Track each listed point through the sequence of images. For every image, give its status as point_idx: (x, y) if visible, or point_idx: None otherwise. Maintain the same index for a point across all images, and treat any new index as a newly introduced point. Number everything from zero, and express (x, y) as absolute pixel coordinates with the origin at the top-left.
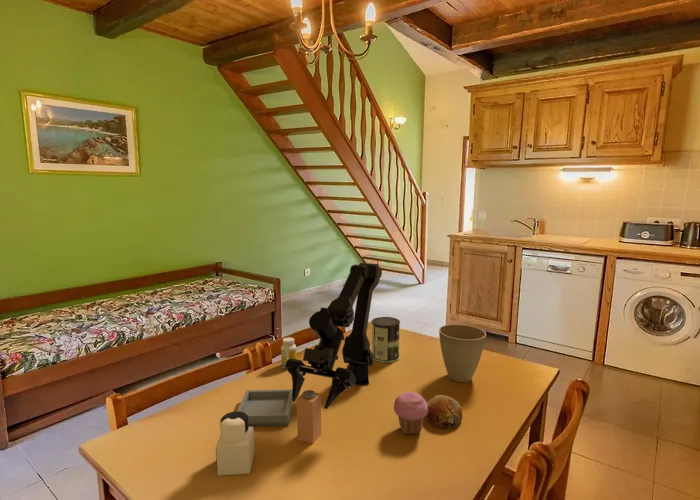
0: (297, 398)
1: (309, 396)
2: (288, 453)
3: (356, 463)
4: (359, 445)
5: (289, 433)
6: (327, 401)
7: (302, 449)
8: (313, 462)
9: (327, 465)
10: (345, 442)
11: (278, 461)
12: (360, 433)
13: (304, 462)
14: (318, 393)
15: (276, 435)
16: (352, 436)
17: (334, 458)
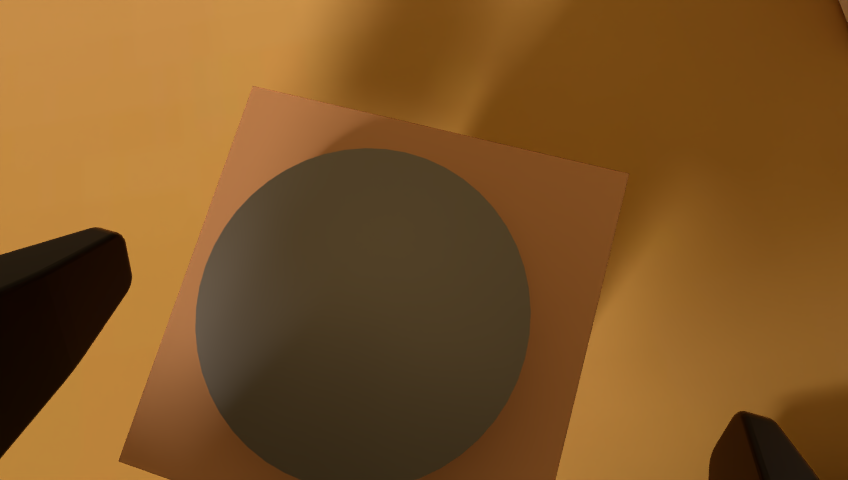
0: (615, 186)
1: (313, 162)
2: (570, 107)
3: (53, 83)
4: None
5: (657, 381)
6: (9, 264)
7: None
8: (351, 43)
9: (247, 31)
10: (133, 310)
11: (617, 9)
12: (10, 456)
13: (416, 32)
14: (172, 478)
15: (774, 333)
16: (77, 402)
17: (205, 108)
